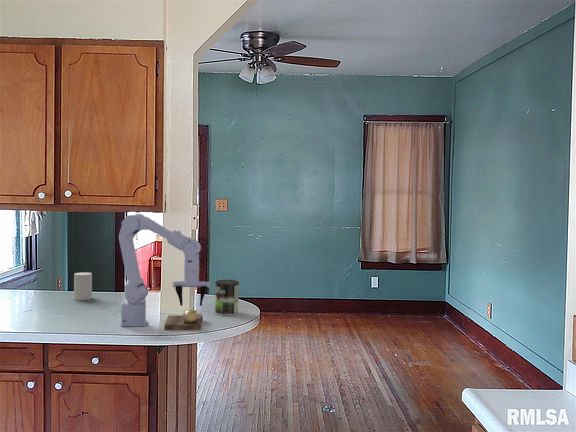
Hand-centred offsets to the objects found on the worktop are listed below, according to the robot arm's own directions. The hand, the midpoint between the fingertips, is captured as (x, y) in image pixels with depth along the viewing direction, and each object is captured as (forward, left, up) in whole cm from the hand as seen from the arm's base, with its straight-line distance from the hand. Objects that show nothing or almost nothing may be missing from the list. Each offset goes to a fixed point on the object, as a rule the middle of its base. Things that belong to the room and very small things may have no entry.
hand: (191, 305), depth 243 cm
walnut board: (-3, +4, -9) cm, 10 cm away
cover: (0, +9, -7) cm, 11 cm away
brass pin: (0, 0, -9) cm, 9 cm away
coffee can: (+14, +25, -9) cm, 30 cm away
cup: (-55, +57, -9) cm, 80 cm away
